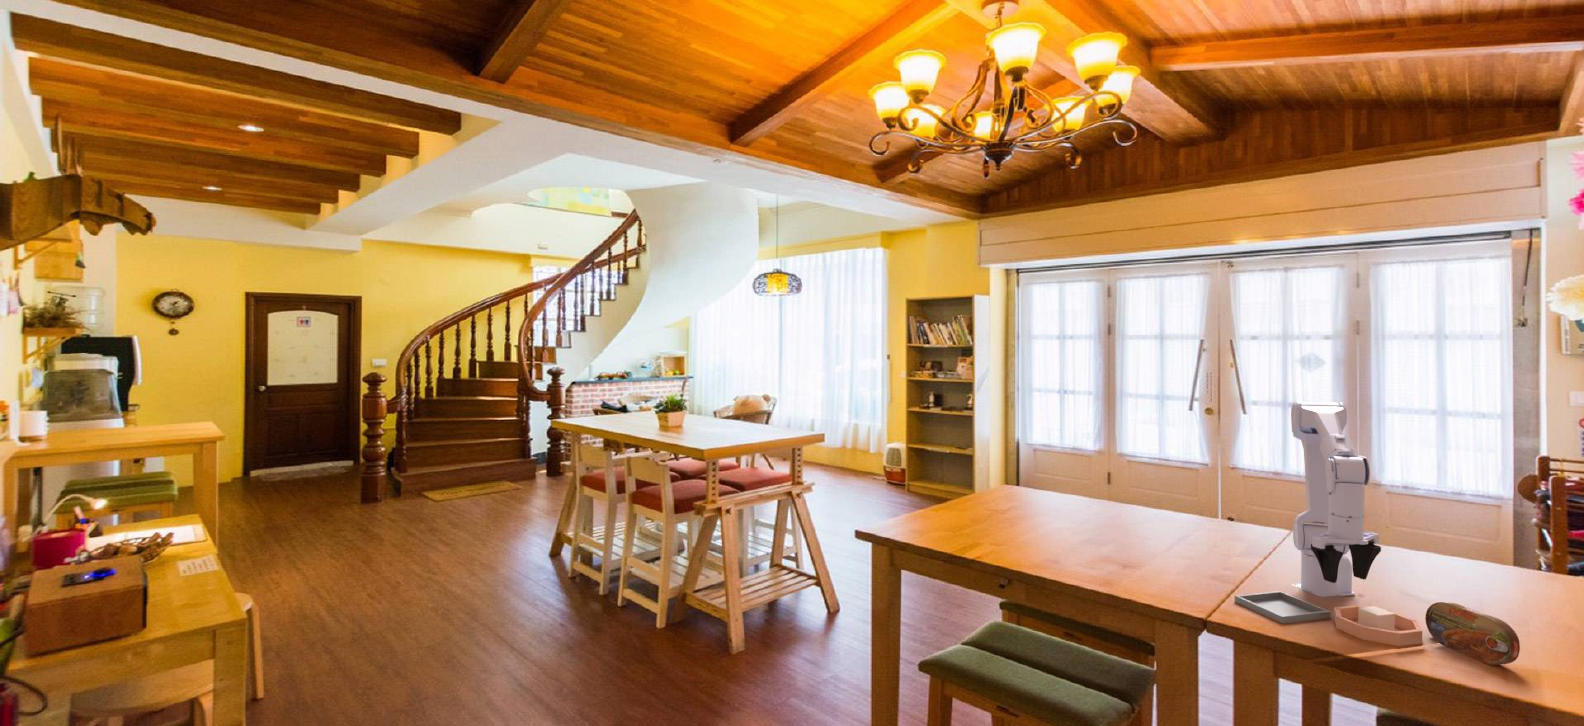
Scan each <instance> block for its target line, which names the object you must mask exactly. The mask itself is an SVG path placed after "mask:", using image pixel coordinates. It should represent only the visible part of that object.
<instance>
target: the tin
mask: <svg viewBox="0 0 1584 726" xmlns="http://www.w3.org/2000/svg"><path fill="white" fill-rule="evenodd" d="M1424 620H1425V625H1426V628H1427V630H1428V632H1429V634H1430V635H1431V637H1432V638H1433V639H1434V640H1437V641H1440V642H1439V645H1441V646H1443V647H1445V648H1447V649H1450V650H1453V651H1454V652H1457V653H1460V654H1462V655H1465V656H1467V657H1468V658H1472V659H1473V660H1476V661H1479V662H1480V663H1483V664H1486V665H1490V666H1497V665H1508V664H1509V665H1510V664H1511V663H1512V664H1513V662H1515V661H1516V660H1517V659H1518V658H1519V655H1520V651H1521V648H1520V647H1521V646H1520V645H1521V644H1520V638H1519V636H1518V634H1517V633H1516V631H1515V630H1514V629H1513V628H1512V627H1511V625H1510V624H1508V623H1507V622H1505V621H1504V620H1503V619H1500V618H1497V617H1495V616H1492V615H1489V614H1486V613H1483V612H1481V611H1478V610H1475V609H1473V608H1470V607H1467V606H1464V605H1461V604H1460V603H1459V604H1458V603H1455V602H1445V601H1439V602H1434V603H1433V604H1431V605H1429V607H1428V608H1427V609H1426V613H1425V619H1424Z"/></svg>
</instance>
